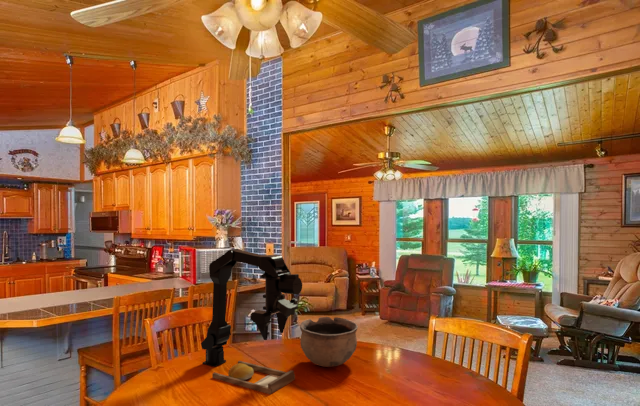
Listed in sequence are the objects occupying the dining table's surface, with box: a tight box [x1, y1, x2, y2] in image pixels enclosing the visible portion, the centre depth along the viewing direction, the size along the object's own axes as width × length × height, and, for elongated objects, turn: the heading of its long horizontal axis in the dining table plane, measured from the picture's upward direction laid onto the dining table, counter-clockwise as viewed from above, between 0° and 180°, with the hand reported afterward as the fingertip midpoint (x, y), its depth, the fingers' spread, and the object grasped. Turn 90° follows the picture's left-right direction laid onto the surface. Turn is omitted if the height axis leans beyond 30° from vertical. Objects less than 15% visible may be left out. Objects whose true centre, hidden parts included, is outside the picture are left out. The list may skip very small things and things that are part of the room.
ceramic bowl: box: [299, 316, 359, 368], centre depth 160 cm, size 22×22×15 cm
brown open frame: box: [211, 360, 296, 395], centre depth 146 cm, size 25×14×3 cm, turn 59°
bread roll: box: [227, 363, 255, 381], centre depth 147 cm, size 8×9×4 cm
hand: (273, 336), depth 147 cm, fingers open, 9 cm apart
